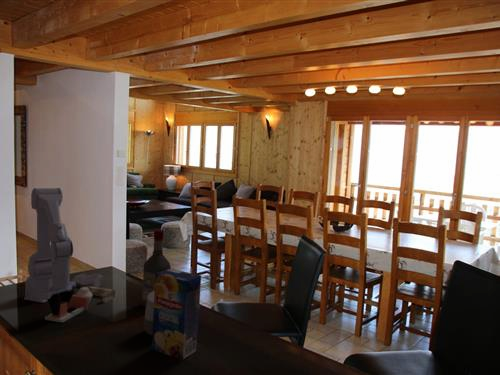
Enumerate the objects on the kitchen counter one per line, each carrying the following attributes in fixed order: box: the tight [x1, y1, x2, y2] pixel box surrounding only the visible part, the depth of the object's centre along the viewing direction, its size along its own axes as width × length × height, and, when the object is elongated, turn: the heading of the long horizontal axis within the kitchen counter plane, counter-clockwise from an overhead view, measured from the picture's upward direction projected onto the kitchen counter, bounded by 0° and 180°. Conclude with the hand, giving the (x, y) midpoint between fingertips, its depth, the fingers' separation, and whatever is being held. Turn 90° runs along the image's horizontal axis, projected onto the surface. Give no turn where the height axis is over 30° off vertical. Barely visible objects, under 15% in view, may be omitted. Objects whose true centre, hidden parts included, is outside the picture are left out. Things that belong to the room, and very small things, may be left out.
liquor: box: [141, 229, 172, 309], centre depth 167 cm, size 9×9×30 cm
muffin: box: [75, 287, 93, 305], centre depth 164 cm, size 6×6×7 cm
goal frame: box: [77, 286, 116, 304], centre depth 172 cm, size 12×7×3 cm, turn 76°
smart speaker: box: [143, 291, 155, 337], centre depth 143 cm, size 10×9×14 cm
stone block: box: [71, 272, 104, 288], centre depth 188 cm, size 12×5×10 cm
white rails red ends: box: [44, 294, 89, 323], centre depth 154 cm, size 8×14×5 cm, turn 166°
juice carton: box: [151, 268, 202, 361], centre depth 132 cm, size 12×8×24 cm, turn 62°
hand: (59, 312), depth 151 cm, fingers open, 4 cm apart
